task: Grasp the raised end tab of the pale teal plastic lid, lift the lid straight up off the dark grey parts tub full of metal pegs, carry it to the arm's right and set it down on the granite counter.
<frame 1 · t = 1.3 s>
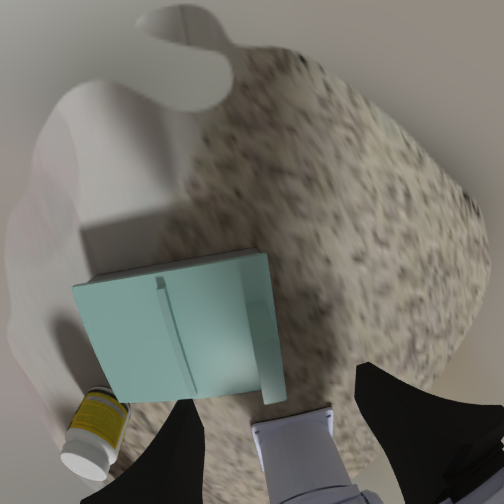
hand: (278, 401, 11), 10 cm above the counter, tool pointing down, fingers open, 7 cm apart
supplement bottle: (109, 402, 22), on the counter
tub: (184, 320, 20), on the counter
lid: (179, 340, 17), point 3 cm above the counter, touching tub
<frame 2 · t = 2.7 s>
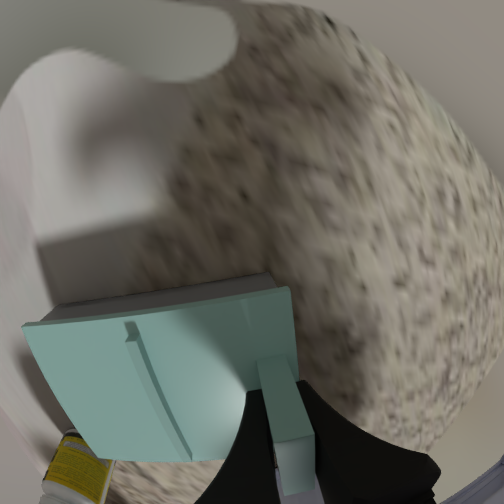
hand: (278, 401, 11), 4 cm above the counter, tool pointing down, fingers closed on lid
supplement bottle: (91, 444, 16), on the counter
tub: (173, 364, 15), on the counter
lid: (165, 399, 12), point 3 cm above the counter, touching gripper, tub
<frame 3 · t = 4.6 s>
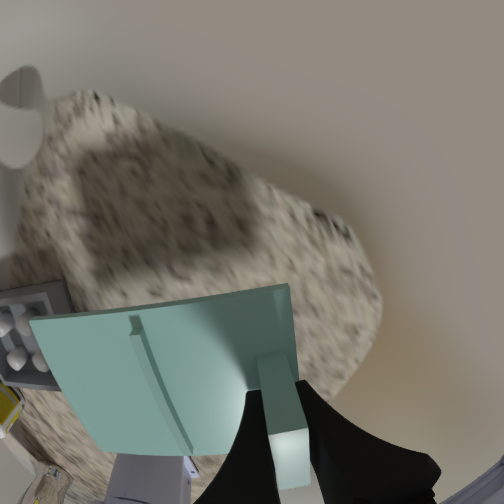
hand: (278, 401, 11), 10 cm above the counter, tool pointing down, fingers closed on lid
supplement bottle: (12, 391, 21), on the counter
tub: (34, 332, 20), on the counter
lid: (167, 393, 12), point 9 cm above the counter, touching gripper
beer glass: (56, 470, 25), on the counter
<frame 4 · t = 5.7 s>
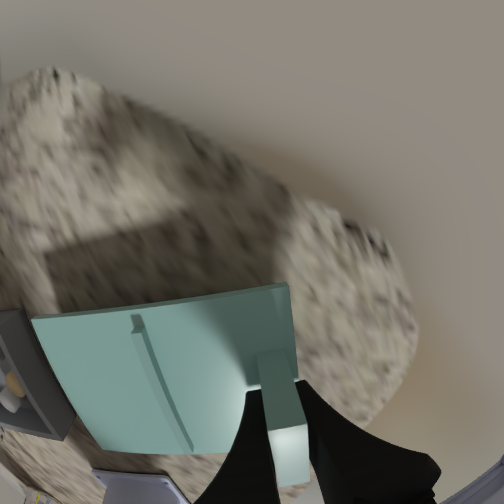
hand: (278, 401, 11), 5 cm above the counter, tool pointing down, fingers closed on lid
tub: (1, 365, 14), on the counter
lid: (168, 391, 12), point 3 cm above the counter, touching gripper
beer glass: (45, 496, 19), on the counter
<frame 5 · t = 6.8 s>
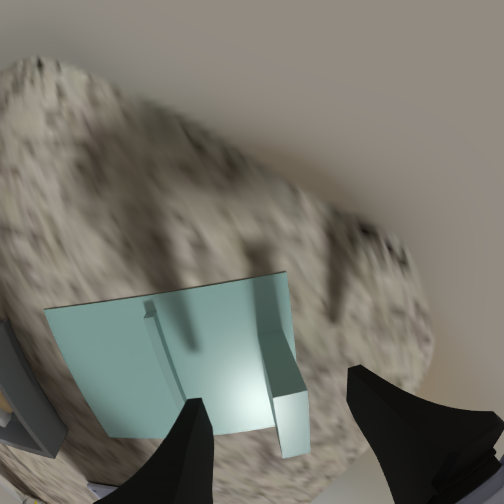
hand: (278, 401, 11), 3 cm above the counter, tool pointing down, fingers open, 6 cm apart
lid: (175, 374, 14), on the counter
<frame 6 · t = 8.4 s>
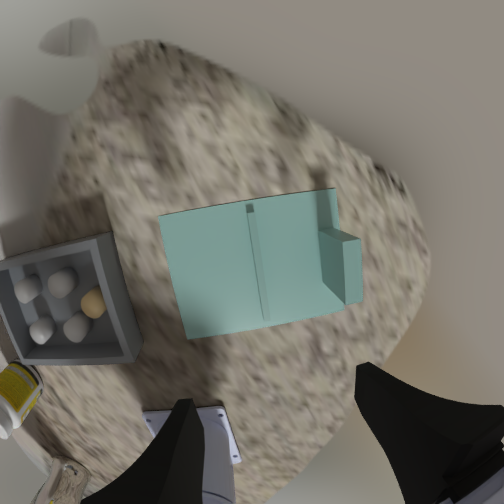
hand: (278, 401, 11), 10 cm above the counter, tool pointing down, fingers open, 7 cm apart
supplement bottle: (28, 375, 21), on the counter
tub: (65, 299, 19), on the counter
lid: (258, 265, 21), on the counter
beer glass: (72, 466, 25), on the counter
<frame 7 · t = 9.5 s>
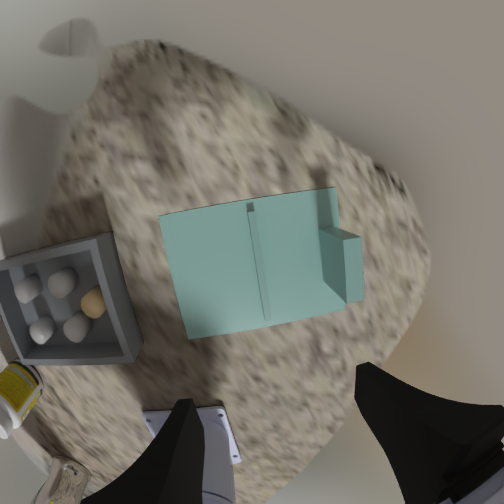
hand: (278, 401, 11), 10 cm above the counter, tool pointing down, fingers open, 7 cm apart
supplement bottle: (28, 375, 21), on the counter
tub: (65, 299, 19), on the counter
lid: (258, 265, 21), on the counter
beer glass: (72, 466, 25), on the counter
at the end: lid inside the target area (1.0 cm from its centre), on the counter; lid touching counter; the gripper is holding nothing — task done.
